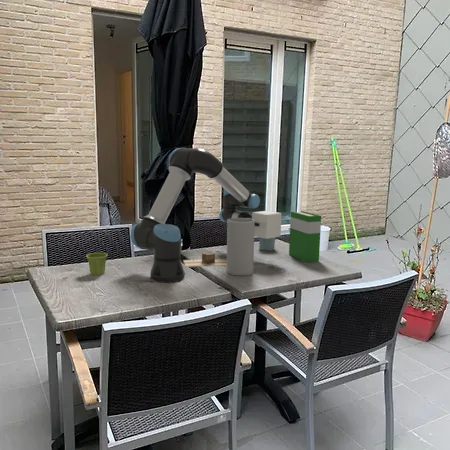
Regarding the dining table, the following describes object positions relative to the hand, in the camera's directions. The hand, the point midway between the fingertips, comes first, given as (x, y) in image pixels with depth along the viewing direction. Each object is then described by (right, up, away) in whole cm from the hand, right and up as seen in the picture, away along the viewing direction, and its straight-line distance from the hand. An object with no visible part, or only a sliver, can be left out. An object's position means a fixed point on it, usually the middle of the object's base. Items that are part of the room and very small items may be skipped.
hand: (272, 224), depth 226 cm
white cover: (-3, -6, +4) cm, 8 cm away
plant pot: (-82, -23, -19) cm, 87 cm away
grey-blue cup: (0, -14, +35) cm, 38 cm away
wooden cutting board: (-32, -20, +1) cm, 38 cm away
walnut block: (-32, -19, +1) cm, 37 cm away
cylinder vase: (-17, -23, -14) cm, 32 cm away
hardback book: (+18, -18, +15) cm, 30 cm away
